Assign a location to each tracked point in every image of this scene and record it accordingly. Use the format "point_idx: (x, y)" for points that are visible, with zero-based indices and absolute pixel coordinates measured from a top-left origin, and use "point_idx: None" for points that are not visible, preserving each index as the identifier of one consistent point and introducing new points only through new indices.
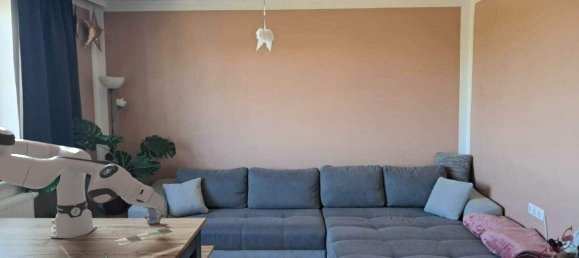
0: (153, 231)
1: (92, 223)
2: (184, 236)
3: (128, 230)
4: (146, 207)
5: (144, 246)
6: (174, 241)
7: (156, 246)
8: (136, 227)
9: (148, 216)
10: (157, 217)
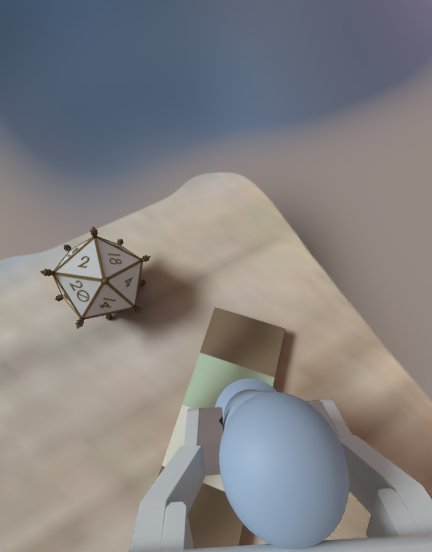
0: (202, 374)
1: None
2: (345, 322)
3: (49, 405)
4: (210, 472)
5: None
6: (365, 389)
7: None
8: (60, 355)
9: (92, 309)
10: (266, 387)
